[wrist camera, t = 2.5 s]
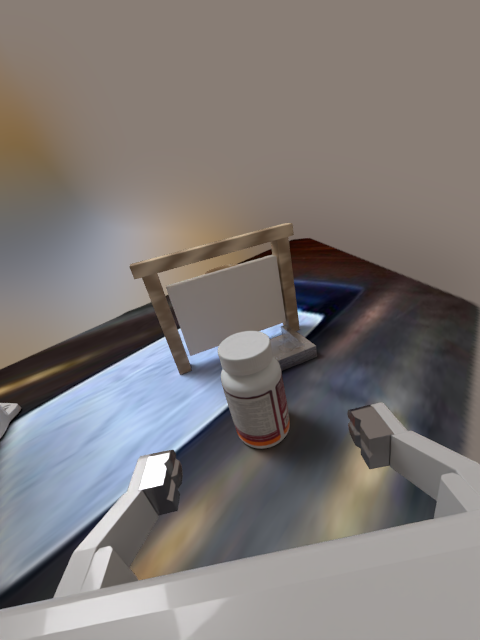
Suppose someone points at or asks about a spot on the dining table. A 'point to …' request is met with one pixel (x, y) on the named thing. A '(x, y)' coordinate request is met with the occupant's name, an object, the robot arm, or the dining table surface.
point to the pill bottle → (254, 389)
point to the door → (228, 303)
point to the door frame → (170, 261)
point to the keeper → (291, 348)
